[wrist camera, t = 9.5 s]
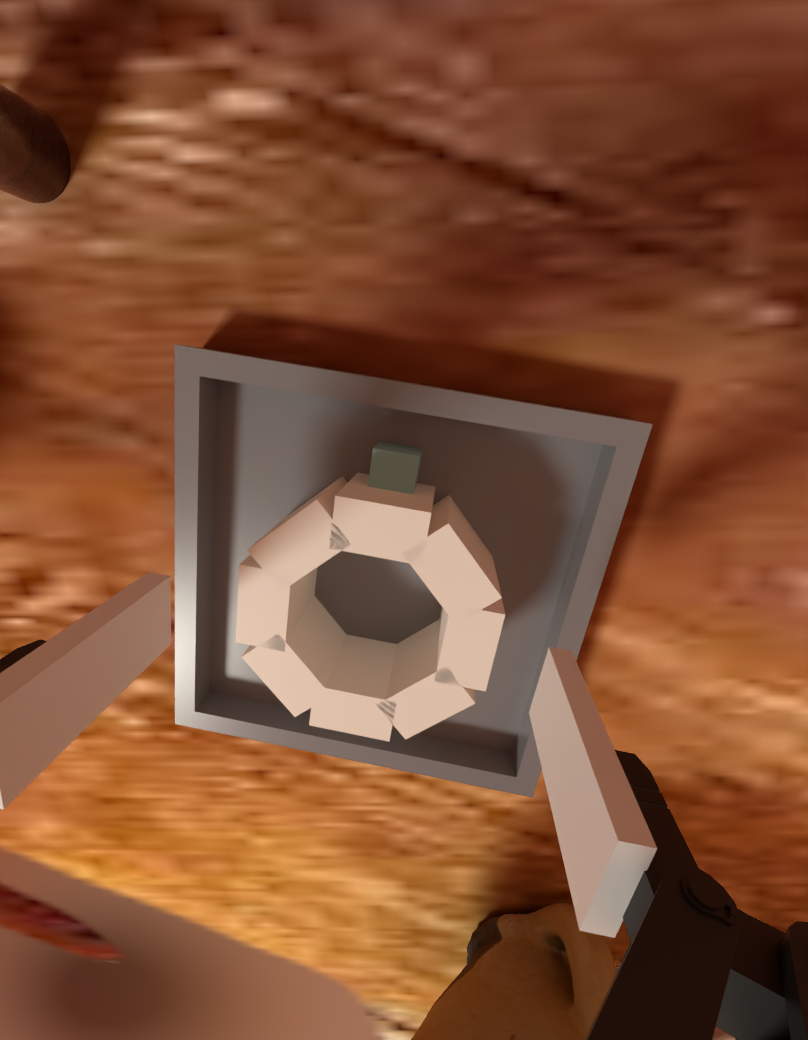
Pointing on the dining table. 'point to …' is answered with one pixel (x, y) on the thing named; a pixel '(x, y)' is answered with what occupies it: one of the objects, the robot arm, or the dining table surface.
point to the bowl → (525, 981)
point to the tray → (377, 581)
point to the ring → (361, 661)
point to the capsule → (30, 151)
